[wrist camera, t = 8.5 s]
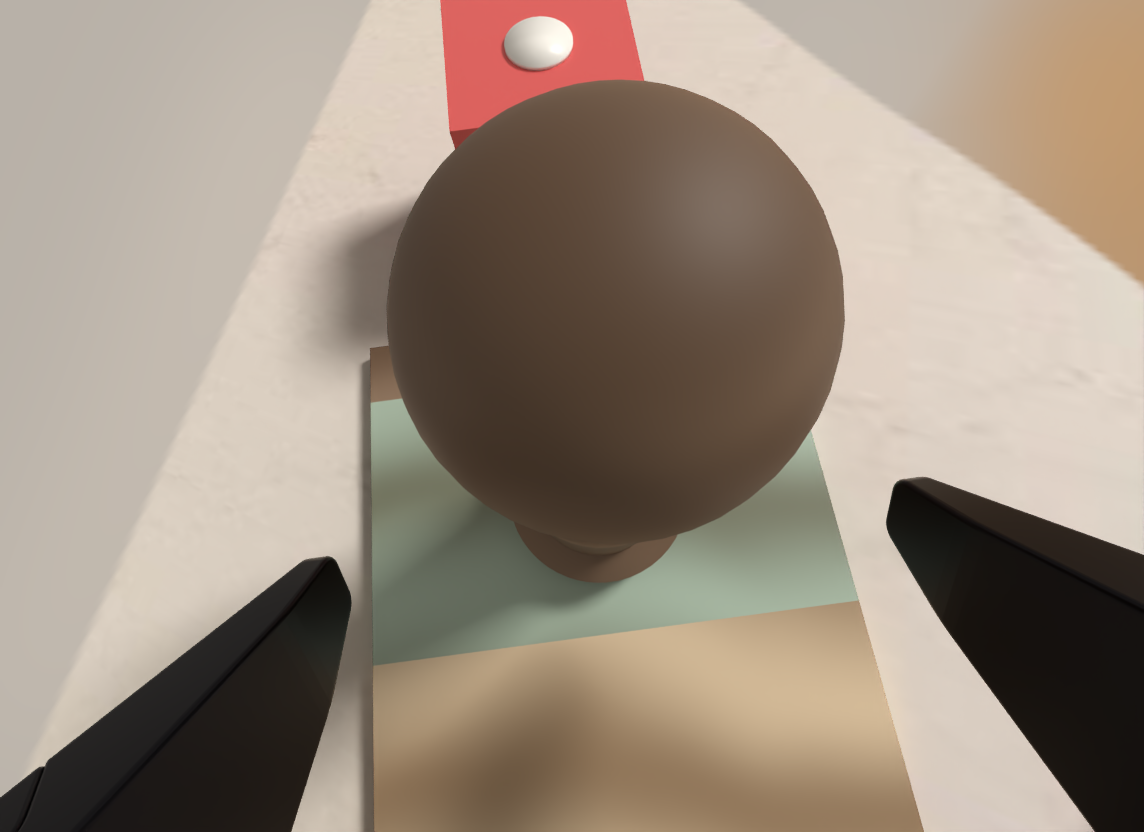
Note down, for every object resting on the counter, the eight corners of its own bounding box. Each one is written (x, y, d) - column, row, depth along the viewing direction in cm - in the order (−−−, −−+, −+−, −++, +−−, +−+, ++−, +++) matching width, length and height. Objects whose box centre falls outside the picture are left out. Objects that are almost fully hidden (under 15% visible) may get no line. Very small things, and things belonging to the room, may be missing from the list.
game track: (1039, 1289, 11) (1064, 1329, 10) (390, 1379, 11) (378, 1424, 10) (766, 303, 18) (772, 294, 17) (377, 355, 18) (370, 348, 17)
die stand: (678, 290, 18) (723, 140, 12) (459, 319, 18) (389, 185, 12) (641, 120, 21) (662, -79, 14) (447, 145, 21) (384, -42, 14)
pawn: (667, 596, 15) (1142, 756, 2) (500, 563, 15) (26, 523, 2) (687, 433, 16) (1042, -78, 3) (534, 407, 16) (348, -129, 4)
